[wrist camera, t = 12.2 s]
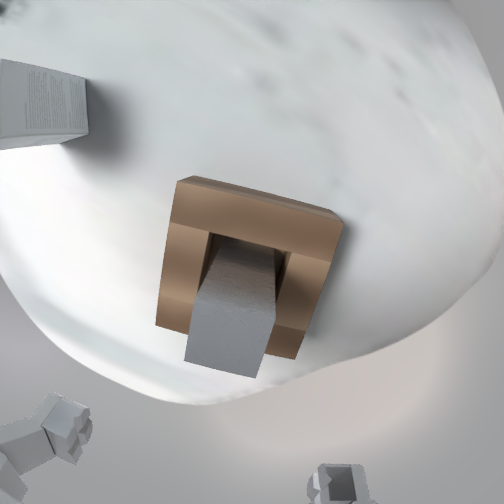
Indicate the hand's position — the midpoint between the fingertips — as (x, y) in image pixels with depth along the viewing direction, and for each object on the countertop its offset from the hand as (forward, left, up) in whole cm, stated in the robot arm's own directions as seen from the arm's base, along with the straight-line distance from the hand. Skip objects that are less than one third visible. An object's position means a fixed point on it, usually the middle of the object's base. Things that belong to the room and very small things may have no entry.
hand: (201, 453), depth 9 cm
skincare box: (-10, -20, -20) cm, 30 cm away
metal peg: (0, 0, -19) cm, 19 cm away
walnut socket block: (0, 0, -20) cm, 20 cm away
